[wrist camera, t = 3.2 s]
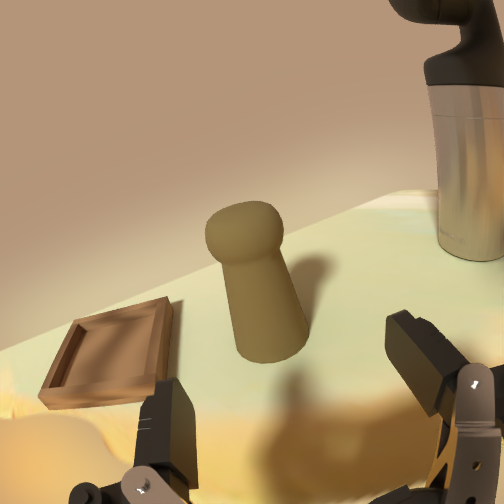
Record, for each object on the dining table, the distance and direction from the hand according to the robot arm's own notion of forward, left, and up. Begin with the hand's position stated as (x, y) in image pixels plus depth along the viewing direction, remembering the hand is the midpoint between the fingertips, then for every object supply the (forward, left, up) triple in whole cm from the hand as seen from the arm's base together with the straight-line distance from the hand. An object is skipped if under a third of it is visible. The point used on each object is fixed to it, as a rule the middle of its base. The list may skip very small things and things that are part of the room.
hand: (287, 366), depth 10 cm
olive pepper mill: (0, -11, -8) cm, 14 cm away
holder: (+15, -13, -8) cm, 22 cm away
